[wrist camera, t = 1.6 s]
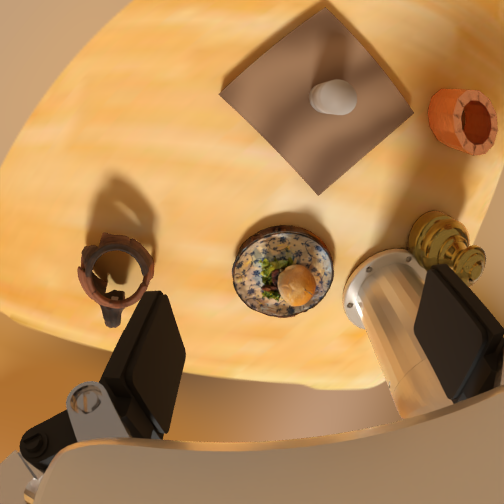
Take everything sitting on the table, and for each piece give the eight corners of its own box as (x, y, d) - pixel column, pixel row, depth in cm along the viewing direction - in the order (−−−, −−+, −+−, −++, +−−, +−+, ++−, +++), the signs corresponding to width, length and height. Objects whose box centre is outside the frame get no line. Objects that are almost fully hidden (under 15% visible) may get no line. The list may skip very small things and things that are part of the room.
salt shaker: (423, 200, 31) (474, 228, 22) (458, 222, 32) (507, 253, 23) (397, 253, 34) (439, 294, 25) (434, 269, 35) (475, 309, 26)
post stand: (407, 112, 26) (440, 117, 20) (315, 191, 31) (330, 212, 25) (321, 11, 21) (339, -10, 16) (220, 95, 26) (211, 91, 20)
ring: (478, 126, 26) (504, 133, 22) (446, 157, 28) (471, 167, 24) (452, 78, 24) (479, 78, 19) (418, 108, 26) (443, 111, 21)
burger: (220, 239, 34) (212, 274, 27) (322, 212, 32) (340, 242, 26) (249, 318, 39) (249, 360, 32) (336, 297, 37) (351, 336, 31)
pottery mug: (78, 227, 33) (71, 238, 26) (147, 223, 37) (158, 233, 30) (87, 314, 36) (85, 344, 29) (151, 308, 40) (163, 335, 33)
